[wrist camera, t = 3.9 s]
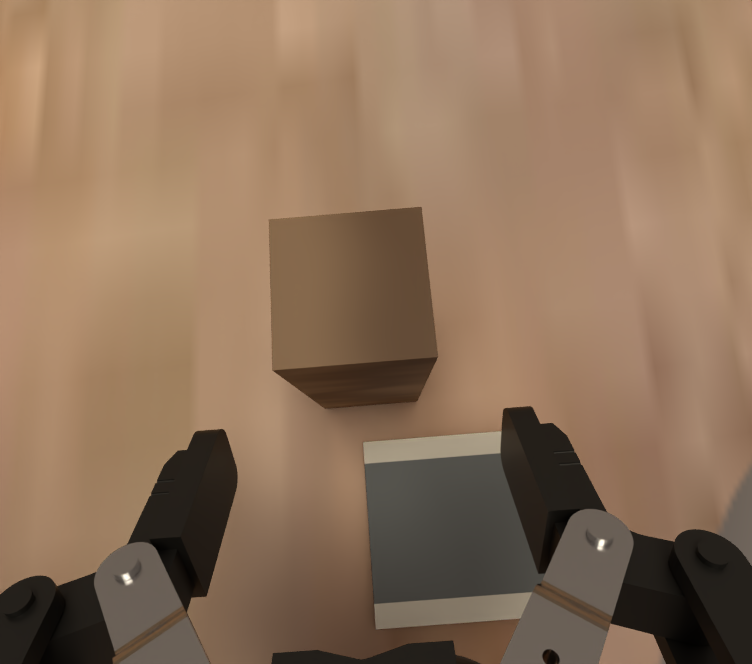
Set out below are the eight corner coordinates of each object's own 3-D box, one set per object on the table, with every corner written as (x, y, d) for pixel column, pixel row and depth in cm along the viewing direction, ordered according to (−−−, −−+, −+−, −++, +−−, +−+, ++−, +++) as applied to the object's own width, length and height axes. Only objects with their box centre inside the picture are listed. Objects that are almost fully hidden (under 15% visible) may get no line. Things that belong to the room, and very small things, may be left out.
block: (325, 408, 24) (272, 370, 13) (320, 320, 25) (268, 219, 14) (416, 401, 24) (437, 356, 13) (408, 313, 25) (421, 206, 14)
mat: (375, 628, 21) (376, 629, 21) (363, 442, 23) (363, 442, 23) (558, 614, 21) (559, 615, 21) (529, 429, 23) (530, 428, 23)
